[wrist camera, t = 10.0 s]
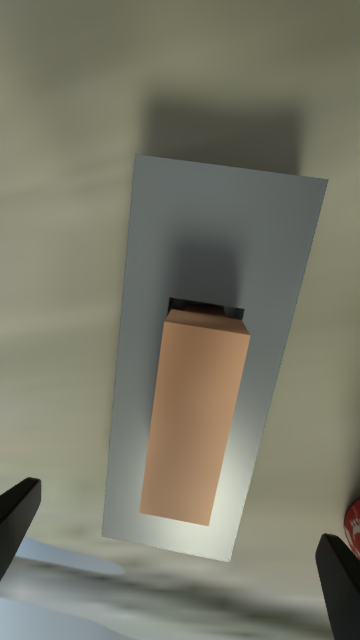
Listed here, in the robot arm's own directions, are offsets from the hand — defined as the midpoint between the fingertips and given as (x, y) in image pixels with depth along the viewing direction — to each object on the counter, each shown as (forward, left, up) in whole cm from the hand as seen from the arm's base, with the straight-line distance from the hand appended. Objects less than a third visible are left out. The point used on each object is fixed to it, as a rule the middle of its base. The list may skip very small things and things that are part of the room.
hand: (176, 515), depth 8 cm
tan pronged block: (0, 0, -10) cm, 10 cm away
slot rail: (0, 0, -11) cm, 11 cm away
